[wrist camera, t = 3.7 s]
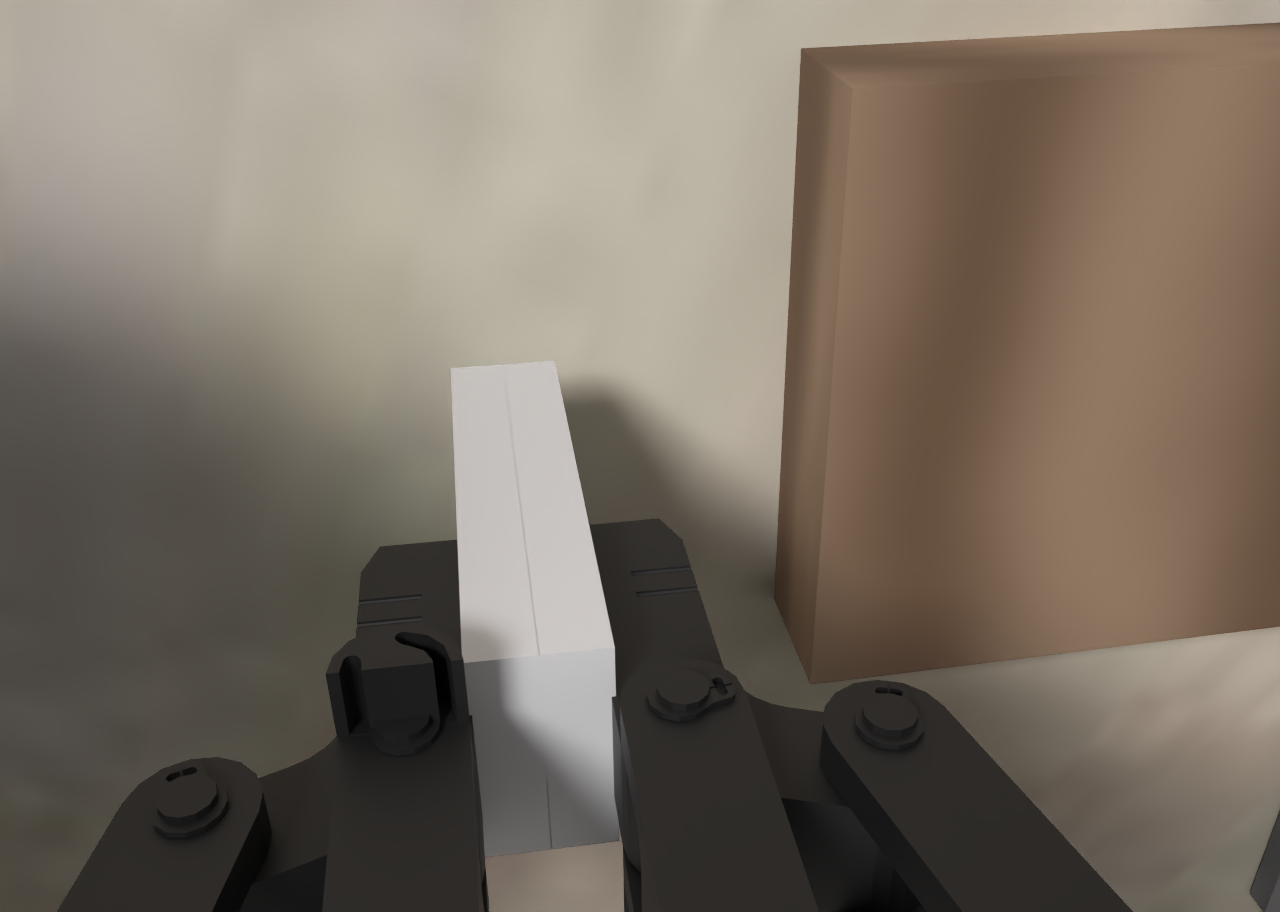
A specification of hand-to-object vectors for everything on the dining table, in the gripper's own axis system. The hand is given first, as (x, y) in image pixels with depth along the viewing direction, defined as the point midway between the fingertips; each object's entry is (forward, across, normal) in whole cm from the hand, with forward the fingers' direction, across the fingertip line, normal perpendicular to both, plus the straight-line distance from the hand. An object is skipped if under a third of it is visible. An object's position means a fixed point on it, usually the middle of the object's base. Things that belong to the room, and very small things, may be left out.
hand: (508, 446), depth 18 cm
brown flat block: (+3, +13, 0) cm, 13 cm away
